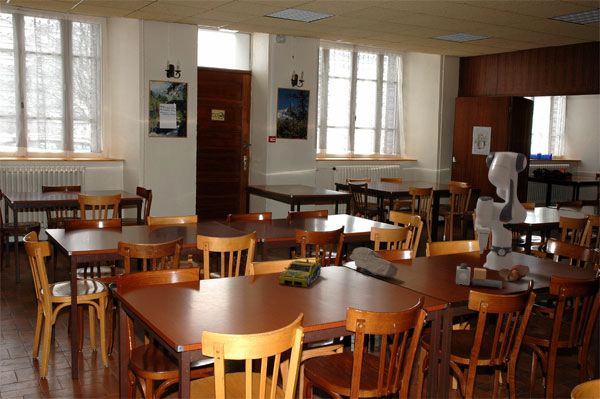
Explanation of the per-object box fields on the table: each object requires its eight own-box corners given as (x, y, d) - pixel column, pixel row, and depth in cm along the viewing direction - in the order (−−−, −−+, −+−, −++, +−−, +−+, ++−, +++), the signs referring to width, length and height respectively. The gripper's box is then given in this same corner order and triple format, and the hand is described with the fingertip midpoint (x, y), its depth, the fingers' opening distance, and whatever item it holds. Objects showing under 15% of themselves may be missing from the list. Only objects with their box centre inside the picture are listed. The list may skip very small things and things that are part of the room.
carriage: (473, 280, 316) (474, 267, 315) (484, 282, 314) (486, 269, 313) (473, 283, 311) (474, 269, 310) (485, 284, 309) (486, 271, 309)
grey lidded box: (455, 280, 320) (457, 266, 319) (469, 281, 318) (470, 267, 317) (455, 284, 312) (456, 269, 311) (469, 285, 310) (470, 270, 309)
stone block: (392, 286, 313) (404, 262, 317) (381, 278, 308) (393, 253, 311) (352, 274, 342) (363, 251, 345) (340, 266, 336) (352, 243, 339)
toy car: (277, 284, 297) (278, 265, 296) (294, 272, 323) (295, 254, 321) (307, 288, 292) (308, 268, 291) (321, 275, 318) (322, 257, 317)
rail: (472, 282, 316) (472, 277, 316) (501, 285, 312) (501, 280, 312) (472, 285, 311) (472, 279, 311) (502, 288, 307) (502, 282, 307)
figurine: (527, 283, 313) (540, 273, 323) (521, 268, 314) (534, 258, 323) (496, 288, 329) (510, 278, 338) (490, 273, 329) (504, 264, 338)
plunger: (460, 272, 316) (460, 263, 316) (466, 272, 316) (467, 263, 315) (460, 273, 313) (460, 264, 313) (466, 274, 312) (467, 265, 312)
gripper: (476, 224, 320) (474, 249, 322) (477, 229, 300) (475, 256, 302) (488, 225, 318) (486, 250, 320) (490, 230, 299) (488, 257, 300)
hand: (481, 253), depth 311 cm, fingers closed
